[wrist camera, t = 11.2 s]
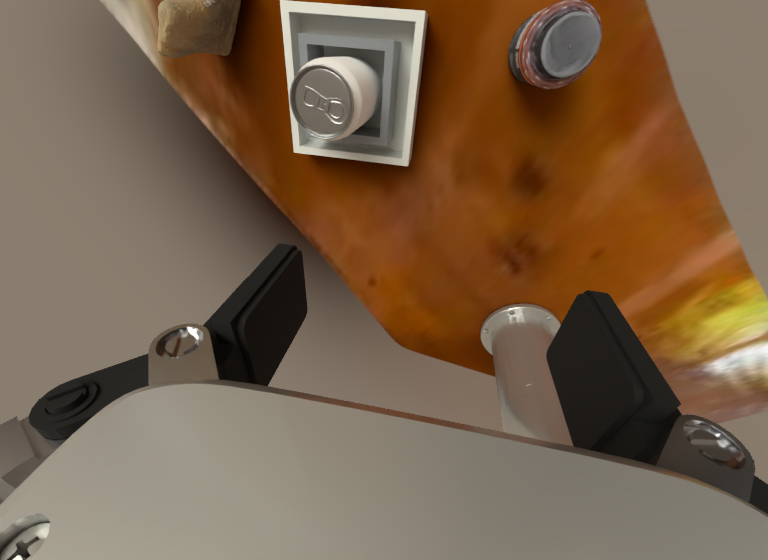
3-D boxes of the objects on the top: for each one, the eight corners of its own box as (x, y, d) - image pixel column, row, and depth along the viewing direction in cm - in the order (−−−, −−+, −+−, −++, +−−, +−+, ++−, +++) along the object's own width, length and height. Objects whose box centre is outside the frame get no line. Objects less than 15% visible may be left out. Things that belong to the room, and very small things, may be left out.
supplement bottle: (582, 46, 32) (635, 43, 23) (528, 96, 35) (556, 112, 26) (547, -7, 30) (589, -33, 21) (494, 51, 33) (510, 50, 24)
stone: (231, 66, 38) (173, 69, 30) (194, 38, 37) (123, 33, 29) (256, -19, 33) (194, -42, 25) (214, -54, 32) (134, -90, 24)
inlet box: (428, 15, 32) (424, 8, 28) (411, 157, 41) (406, 171, 36) (296, 5, 34) (270, -3, 29) (306, 144, 42) (287, 156, 37)
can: (371, 131, 39) (345, 157, 29) (322, 107, 38) (278, 125, 28) (392, 72, 35) (369, 79, 25) (337, 45, 34) (293, 41, 25)
